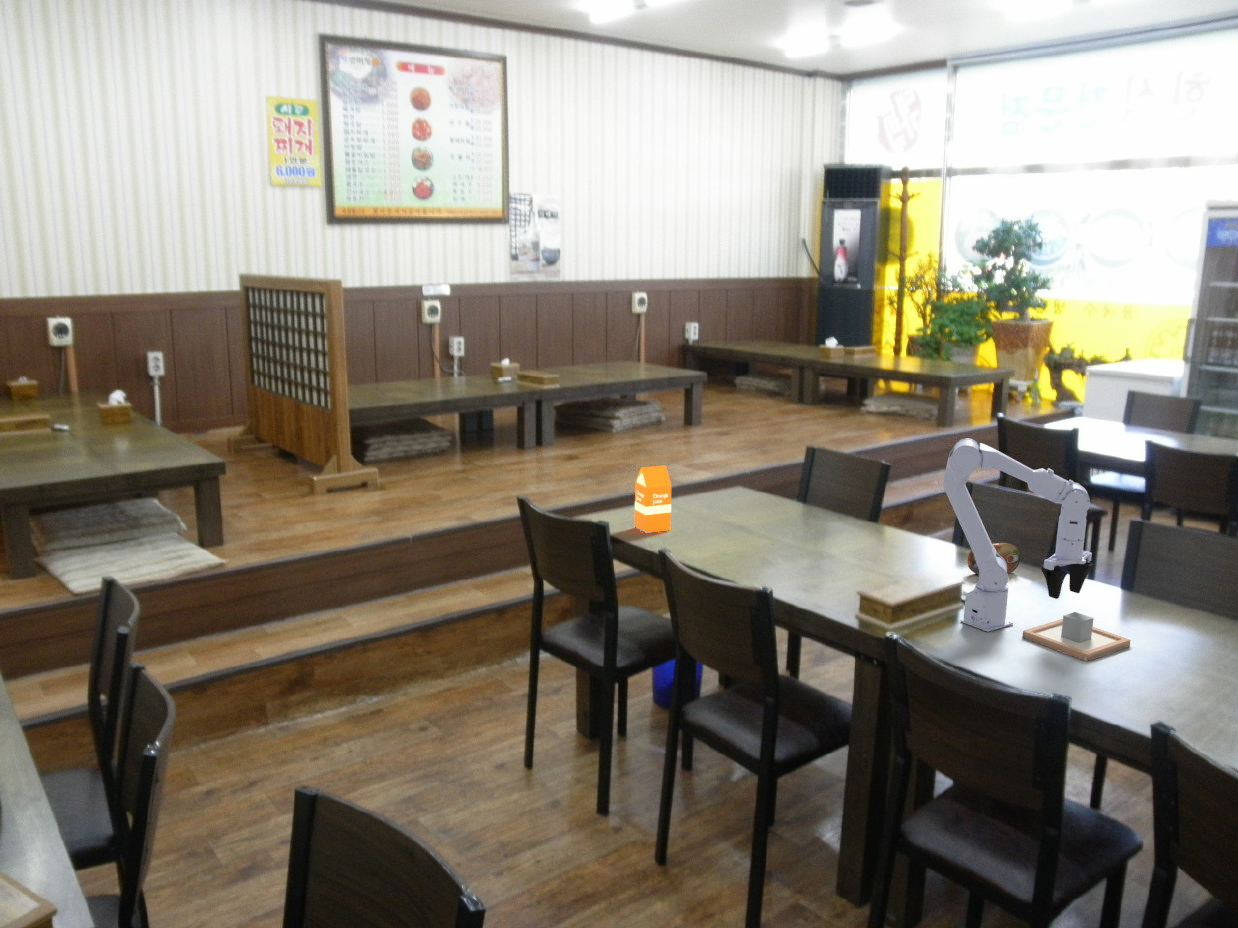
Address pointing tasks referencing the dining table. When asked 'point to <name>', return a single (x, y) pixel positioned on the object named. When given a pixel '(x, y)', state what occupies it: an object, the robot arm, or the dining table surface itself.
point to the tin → (1005, 551)
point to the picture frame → (1085, 650)
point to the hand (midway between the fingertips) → (1064, 594)
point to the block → (1077, 627)
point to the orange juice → (653, 499)
